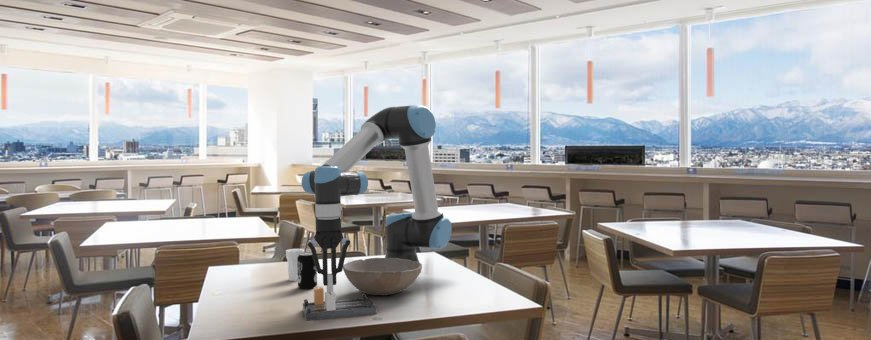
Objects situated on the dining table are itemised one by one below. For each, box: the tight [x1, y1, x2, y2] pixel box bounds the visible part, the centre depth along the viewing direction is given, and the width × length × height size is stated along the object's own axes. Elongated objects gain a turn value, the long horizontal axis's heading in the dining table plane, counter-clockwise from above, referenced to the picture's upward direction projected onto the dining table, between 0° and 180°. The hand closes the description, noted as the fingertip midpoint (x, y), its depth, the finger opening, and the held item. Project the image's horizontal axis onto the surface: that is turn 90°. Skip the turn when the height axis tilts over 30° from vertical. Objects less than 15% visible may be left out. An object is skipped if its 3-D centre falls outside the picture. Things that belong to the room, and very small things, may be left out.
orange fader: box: [313, 286, 325, 305], centre depth 178 cm, size 2×4×5 cm
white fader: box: [324, 291, 336, 311], centre depth 171 cm, size 2×4×5 cm
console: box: [302, 294, 378, 321], centre depth 176 cm, size 20×12×3 cm, turn 107°
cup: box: [285, 248, 305, 282], centre depth 222 cm, size 7×7×11 cm
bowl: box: [342, 257, 423, 296], centre depth 198 cm, size 26×26×10 cm
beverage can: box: [297, 251, 318, 290], centre depth 208 cm, size 7×7×12 cm
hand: (330, 295), depth 179 cm, fingers closed
